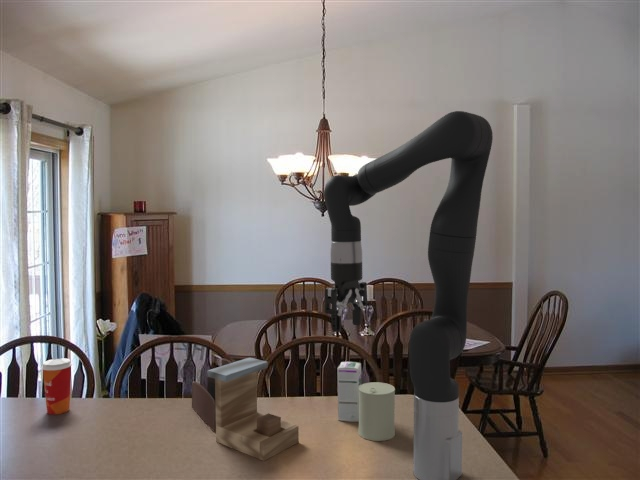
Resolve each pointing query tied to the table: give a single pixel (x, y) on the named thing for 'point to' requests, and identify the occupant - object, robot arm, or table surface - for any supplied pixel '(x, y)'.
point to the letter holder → (206, 399)
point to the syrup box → (348, 391)
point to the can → (376, 411)
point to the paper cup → (57, 385)
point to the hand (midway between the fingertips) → (347, 328)
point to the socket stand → (245, 411)
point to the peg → (268, 425)
